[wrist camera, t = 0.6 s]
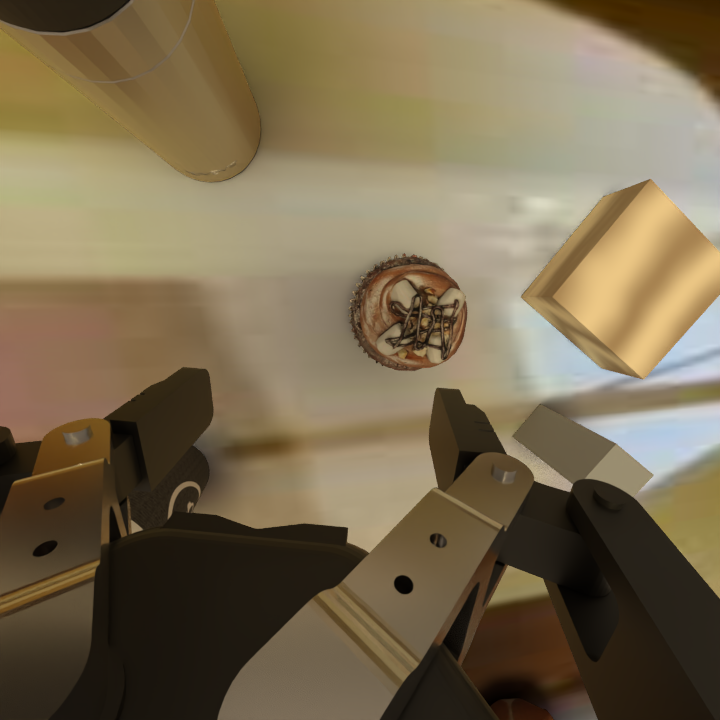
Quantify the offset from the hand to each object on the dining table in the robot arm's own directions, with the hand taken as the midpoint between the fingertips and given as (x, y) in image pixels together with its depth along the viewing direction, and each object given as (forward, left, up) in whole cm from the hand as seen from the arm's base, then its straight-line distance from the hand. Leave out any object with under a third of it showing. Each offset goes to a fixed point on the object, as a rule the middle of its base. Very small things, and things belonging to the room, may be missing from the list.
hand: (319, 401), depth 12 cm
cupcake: (-1, +7, -22) cm, 23 cm away
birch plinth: (+1, +28, -22) cm, 35 cm away
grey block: (+15, +20, -22) cm, 33 cm away
